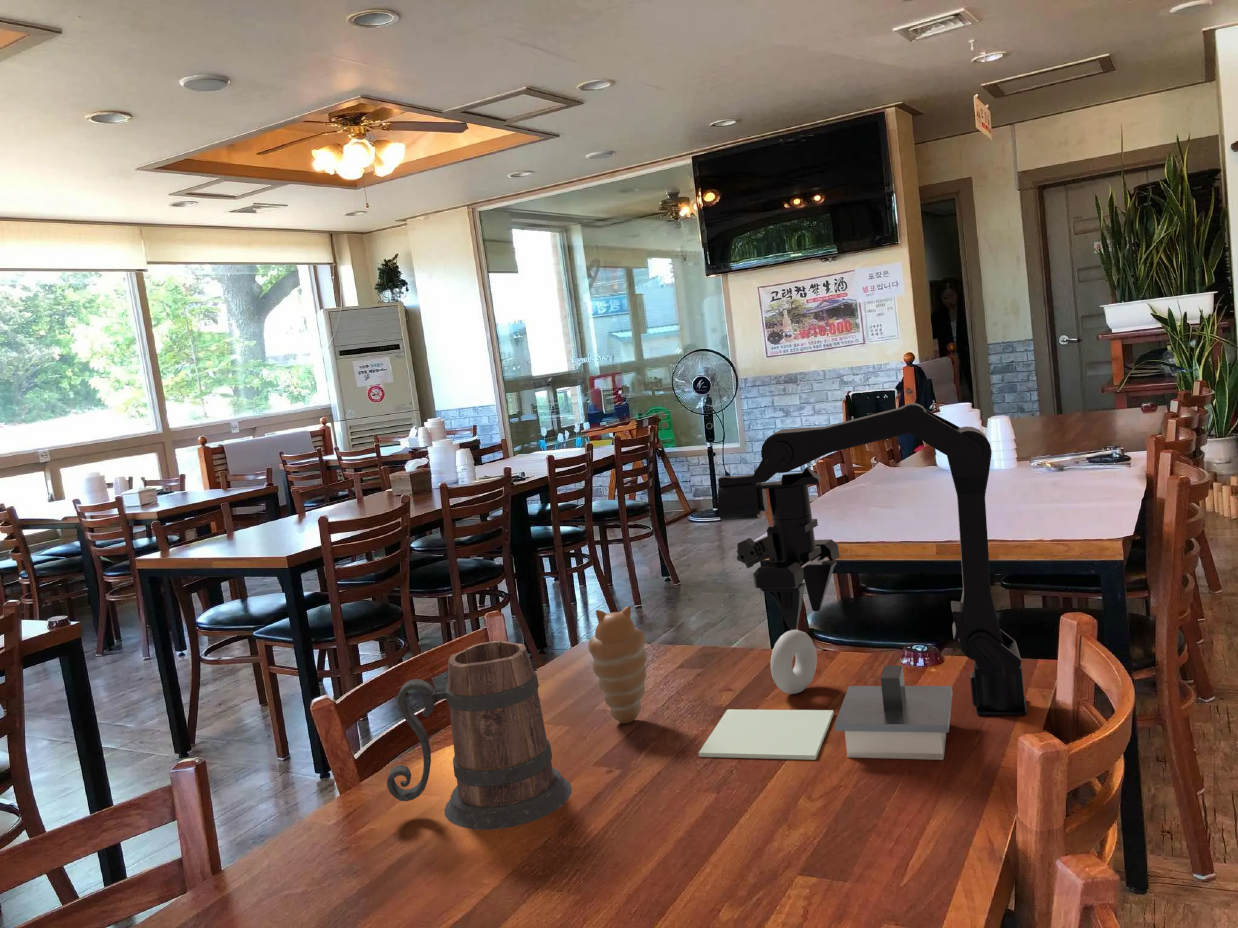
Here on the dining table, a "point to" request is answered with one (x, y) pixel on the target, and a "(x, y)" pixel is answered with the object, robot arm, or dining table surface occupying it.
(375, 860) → the dining table surface
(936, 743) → the dish
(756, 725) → the mat
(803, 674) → the donut
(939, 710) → the lid
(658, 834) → the dining table surface
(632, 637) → the cat ice cream
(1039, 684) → the dining table surface
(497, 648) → the tankard
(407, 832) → the dining table surface
